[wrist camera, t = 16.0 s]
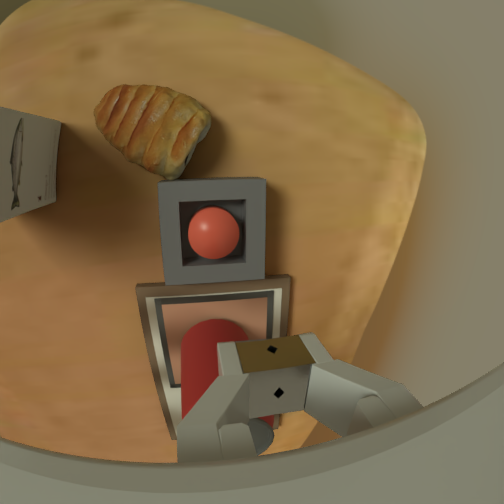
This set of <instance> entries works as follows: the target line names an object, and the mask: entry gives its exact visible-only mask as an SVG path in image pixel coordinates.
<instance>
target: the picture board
mask: <svg viewBox="0 0 504 504" xmlns="http://www.w3.org/2000/svg"><path fill="white" fill-rule="evenodd" d="M135 288H136V294H137V300H138V306H139V312H140V317H141V323H142V328H143V333H144V338H145V342H146V347H147V352H148V356H149V360H150V365H151V369H152V373H153V377H154V381H155V385H156V389H157V392H158V396H159V400H160V403H161V407H162V410H163V414H164V417H165V420H166V423H167V427H168V430H169V433H170V436H171V439H172V440H177V426H178V424H179V423H180V422H181V421H182V410H181V342H182V339H183V337H184V335H185V334H186V333H187V331H188V330H189V329H190V328H191V327H193V326H194V325H196V324H198V323H199V322H202V321H206V320H210V319H223V320H227V321H230V322H233V323H235V324H236V325H238V326H239V327H241V328H242V329H243V331H244V332H245V333H246V335H247V336H248V339H249V340H258V339H272V338H280V337H287V325H288V310H289V294H290V276H289V275H288V274H284V275H271V276H265V279H258V280H244V281H230V282H215V283H200V284H183V285H165V282H164V283H145V284H137V285H136V287H135ZM279 416H280V414H274V424H273V430H274V429H278V425H279Z"/></svg>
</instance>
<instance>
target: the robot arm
mask: <svg viewBox="0 0 504 504" xmlns="http://www.w3.org/2000/svg"><path fill="white" fill-rule="evenodd" d="M217 355H218V371H219V376H218V377H217V378H216V379H215V380H214V382H213V383H212V384H211V385H210V387H209V388H208V389H207V390H206V392H205V393H204V394H203V395H202V397H201V398H200V399H199V400H198V401H197V403H196V404H195V405H194V406H193V408H192V409H191V410H190V411H189V412H188V414H187V415H186V416H185V417H184V418H183V420H182V421H181V422H180V423H179V424H178V426H177V457H178V463H148V462H128V461H115V460H105V459H96V458H89V457H82V456H76V455H70V454H64V453H59V452H54V451H49V450H45V449H41V448H37V447H33V446H29V445H25V444H21V443H18V442H14V441H11V440H8V439H5V438H2V437H0V504H504V362H503V363H502V364H501V365H499V366H497V367H496V368H495V369H493V370H491V371H490V372H488V373H487V374H485V375H483V376H482V377H480V378H478V379H477V380H475V381H473V382H472V383H470V384H468V385H466V386H464V387H463V388H461V389H459V390H457V391H455V392H453V393H451V394H450V395H448V396H446V397H444V398H442V399H440V400H438V401H436V402H433V403H431V404H429V405H427V406H425V407H423V406H422V405H421V404H420V403H419V401H418V400H417V399H416V398H415V397H414V396H413V395H412V394H411V393H410V392H409V390H408V389H407V388H406V387H405V386H404V385H403V384H401V383H398V382H395V381H392V380H389V379H387V378H384V377H381V376H379V375H376V374H374V373H371V372H368V371H366V370H364V369H361V368H358V367H356V366H353V365H351V364H348V363H346V362H343V361H341V360H339V359H337V360H333V358H332V357H331V356H330V354H329V353H328V352H327V350H326V349H325V348H324V346H323V345H322V344H321V342H320V341H319V340H318V338H317V337H316V335H315V334H314V333H312V332H310V333H304V334H298V335H294V336H287V337H280V338H272V339H258V340H245V341H230V342H218V343H217ZM300 410H304V411H305V412H306V413H308V414H309V415H311V416H312V417H314V418H315V419H317V420H318V421H319V422H321V423H322V424H324V425H325V426H327V427H328V428H330V429H331V430H333V431H334V432H336V433H337V434H339V435H340V436H342V438H338V439H335V440H331V441H328V442H324V443H320V444H316V445H312V446H308V447H303V448H299V449H294V450H289V451H284V452H279V453H273V454H267V455H261V456H257V453H256V450H255V446H254V443H253V439H252V436H251V432H250V429H249V426H248V425H247V424H248V422H249V419H251V418H257V417H263V416H269V415H274V414H281V413H287V412H294V411H300Z"/></svg>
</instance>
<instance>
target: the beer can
mask: <svg viewBox="0 0 504 504" xmlns="http://www.w3.org/2000/svg"><path fill="white" fill-rule="evenodd" d="M245 340H249V339H248V336H247V335H246V333H245V332H244V331H243V329H242V328H241V327H239V326H238V325H236V324H235V323H233V322H230V321H227V320H223V319H210V320H206V321H202V322H199V323H198V324H196V325H194V326H193V327H191V328H190V329H189V330H188V331H187V333H186V334H185V335H184V337H183V339H182V342H181V410H182V420H183V418H184V417H185V416H186V415H187V414H188V412H189V411H190V410H191V409H192V408H193V406H194V405H195V404H196V403H197V401H198V400H199V399H200V398H201V397H202V395H203V394H204V393H205V392H206V390H207V389H208V388H209V387H210V385H211V384H212V383H213V382H214V380H215V379H216V378H217V377H218V376H219V371H218V355H217V343H218V342H230V341H245ZM273 424H274V415H269V416H263V417H257V418H251V419H249V422H248V424H247V425H248V426H249V429H250V432H251V436H252V439H253V443H254V446H255V450H256V453H257V456H258V455H260V454H261V453H262V452H264V451H265V450H267V448H268V447H269V446H270V445H271V444H272V442H273V439H274V432H273Z"/></svg>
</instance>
